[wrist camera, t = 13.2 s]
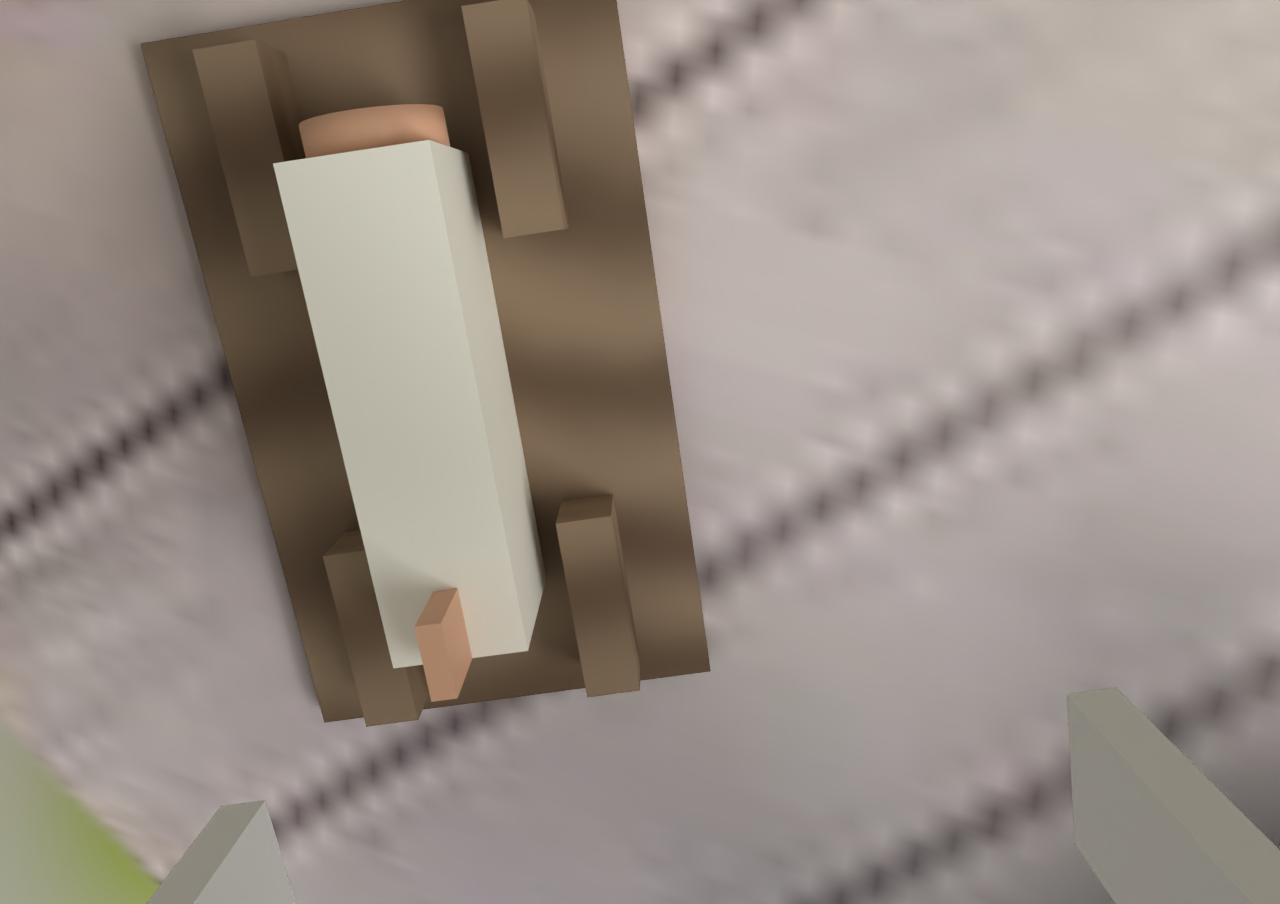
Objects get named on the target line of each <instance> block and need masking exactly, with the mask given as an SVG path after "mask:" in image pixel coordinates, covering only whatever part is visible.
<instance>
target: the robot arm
mask: <svg viewBox="0 0 1280 904" xmlns="http://www.w3.org/2000/svg"><path fill="white" fill-rule="evenodd" d="M1067 708H1068V726H1069V745H1070V763H1071V782H1072V800H1073V819H1074V837H1075V845H1076V846H1077V848H1078V849H1079V851H1080V852H1081V854H1082V855H1083V857H1084V858H1085V860H1086V861H1087V863H1088V864H1089V865H1090V867H1091V868H1092V870H1093V871H1094V873H1095V874H1096V876H1097V877H1098V879H1099V880H1100V882H1101V883H1102V885H1103V886H1104V888H1105V889H1106V890H1107V892H1108V893H1109V895H1110V896H1111V898H1112V899H1113V901H1114V902H1115V904H1280V850H1279V849H1278V848H1277V847H1276V846H1275V845H1274V844H1273V843H1272V842H1271V841H1270V840H1269V839H1268V838H1267V837H1266V836H1265V835H1264V834H1263V833H1262V832H1261V831H1260V830H1259V829H1258V828H1257V827H1256V826H1255V825H1254V824H1253V823H1252V822H1251V821H1250V820H1249V819H1248V818H1247V817H1246V816H1245V815H1244V814H1243V813H1242V812H1241V811H1240V810H1239V809H1238V808H1237V807H1236V806H1235V805H1234V804H1233V803H1232V802H1231V801H1230V800H1229V799H1228V798H1227V797H1226V796H1225V795H1224V794H1223V793H1222V792H1221V791H1220V790H1219V789H1218V788H1217V787H1216V786H1215V785H1214V784H1213V783H1212V782H1211V781H1210V780H1209V779H1208V778H1207V777H1206V776H1205V775H1204V774H1203V773H1202V772H1201V771H1200V770H1199V769H1198V768H1197V767H1196V766H1195V765H1194V764H1193V763H1192V762H1191V761H1190V760H1189V759H1188V758H1187V757H1186V756H1185V755H1184V754H1183V753H1182V752H1181V751H1180V750H1179V749H1178V748H1177V747H1176V746H1175V745H1174V744H1173V743H1172V742H1171V741H1170V740H1169V739H1168V738H1167V737H1166V736H1165V735H1164V734H1163V733H1162V732H1161V731H1160V730H1159V729H1158V728H1157V727H1156V726H1154V725H1153V724H1152V723H1151V722H1150V721H1149V720H1148V719H1147V718H1146V717H1145V716H1144V715H1143V714H1142V713H1141V712H1140V711H1139V710H1138V709H1137V708H1136V707H1135V706H1134V705H1133V704H1132V703H1131V702H1130V701H1129V700H1128V699H1127V698H1126V697H1125V696H1124V695H1123V694H1122V693H1121V692H1120V691H1119V690H1118V689H1117V688H1109V689H1101V690H1093V691H1086V692H1078V693H1071V694H1067ZM147 904H296V902H295V899H294V896H293V892H292V889H291V886H290V882H289V879H288V875H287V872H286V869H285V865H284V862H283V859H282V855H281V852H280V849H279V845H278V842H277V838H276V835H275V832H274V828H273V825H272V822H271V818H270V815H269V812H268V808H267V805H266V801H265V800H264V801H257V802H249V803H241V804H234V805H226V806H221V807H220V808H219V809H218V811H217V812H216V813H215V815H214V816H213V817H212V819H211V820H210V821H209V822H208V824H207V825H206V826H205V828H204V829H203V830H202V832H201V833H200V834H199V836H198V837H197V838H196V839H195V841H194V842H193V843H192V845H191V846H190V847H189V849H188V850H187V851H186V853H185V854H184V855H183V857H182V858H181V859H180V860H179V862H178V863H177V864H176V866H175V867H174V868H173V870H172V871H171V872H170V874H169V875H168V876H167V877H166V879H165V880H164V881H163V883H162V884H161V885H160V887H159V888H158V889H157V891H156V892H155V893H154V894H153V896H152V897H151V898H150V900H149V901H148V902H147Z"/></svg>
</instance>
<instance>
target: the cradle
mask: <svg viewBox="0 0 1280 904" xmlns="http://www.w3.org/2000/svg"><path fill="white" fill-rule="evenodd" d="M141 48H142V52H143V55H144V59H145V63H146V66H147V70H148V74H149V77H150V81H151V85H152V88H153V92H154V96H155V99H156V103H157V107H158V111H159V114H160V118H161V122H162V125H163V129H164V133H165V136H166V140H167V144H168V147H169V151H170V155H171V158H172V162H173V166H174V169H175V173H176V177H177V181H178V184H179V188H180V192H181V195H182V199H183V203H184V206H185V210H186V214H187V217H188V221H189V225H190V228H191V232H192V236H193V240H194V243H195V247H196V251H197V254H198V258H199V262H200V265H201V269H202V273H203V276H204V280H205V284H206V287H207V291H208V295H209V299H210V302H211V306H212V310H213V313H214V317H215V321H216V324H217V328H218V332H219V335H220V339H221V343H222V346H223V350H224V354H225V357H226V361H227V365H228V369H229V372H230V376H231V380H232V383H233V387H234V391H235V394H236V398H237V402H238V405H239V409H240V413H241V416H242V420H243V424H244V428H245V431H246V435H247V439H248V442H249V446H250V450H251V453H252V457H253V461H254V464H255V468H256V472H257V475H258V479H259V483H260V487H261V490H262V494H263V498H264V501H265V505H266V509H267V512H268V516H269V520H270V523H271V527H272V531H273V534H274V538H275V542H276V545H277V549H278V553H279V557H280V560H281V564H282V568H283V571H284V575H285V579H286V582H287V586H288V590H289V593H290V597H291V601H292V604H293V608H294V612H295V616H296V619H297V623H298V627H299V630H300V634H301V638H302V641H303V645H304V649H305V652H306V656H307V660H308V663H309V667H310V671H311V675H312V678H313V682H314V686H315V689H316V693H317V697H318V700H319V704H320V708H321V711H322V715H323V719H324V722H332V721H339V720H347V719H354V718H362V717H364V719H365V723H366V726H375V725H382V724H390V723H397V722H405V721H412V720H418V719H419V716H420V714H421V712H422V710H423V709H430V708H437V707H445V706H452V705H460V704H467V703H475V702H482V701H490V700H497V699H505V698H512V697H520V696H527V695H535V694H542V693H550V692H557V691H565V690H572V689H580V688H586V693H587V697H593V696H601V695H608V694H616V693H623V692H631V691H638V690H640V680H647V679H655V678H662V677H670V676H678V675H685V674H693V673H700V672H708V671H710V664H709V657H708V650H707V643H706V636H705V629H704V622H703V614H702V607H701V600H700V593H699V586H698V579H697V572H696V565H695V557H694V550H693V543H692V536H691V529H690V522H689V515H688V508H687V500H686V493H685V486H684V479H683V472H682V465H681V458H680V451H679V443H678V436H677V429H676V422H675V415H674V408H673V401H672V394H671V386H670V379H669V372H668V365H667V358H666V351H665V344H664V337H663V329H662V322H661V315H660V308H659V301H658V294H657V287H656V280H655V272H654V265H653V258H652V251H651V244H650V237H649V230H648V222H647V215H646V208H645V201H644V194H643V187H642V180H641V173H640V165H639V158H638V151H637V144H636V137H635V130H634V123H633V116H632V108H631V101H630V94H629V87H628V80H627V73H626V66H625V59H624V51H623V44H622V37H621V30H620V23H619V16H618V9H617V2H616V0H406V1H400V2H394V3H388V4H382V5H376V6H370V7H363V8H357V9H351V10H345V11H339V12H333V13H327V14H320V15H314V16H308V17H302V18H296V19H290V20H283V21H277V22H271V23H265V24H259V25H253V26H247V27H240V28H234V29H228V30H222V31H216V32H210V33H204V34H197V35H191V36H185V37H179V38H173V39H167V40H160V41H154V42H148V43H142V44H141ZM403 104H428V105H437V106H441V107H442V108H443V110H444V116H445V121H446V126H447V132H448V137H449V142H450V147H452V148H455V149H458V150H461V151H464V152H467V153H469V159H470V164H471V170H472V175H473V180H474V186H475V191H476V197H477V202H478V208H479V213H480V219H481V224H482V230H483V235H484V241H485V246H486V252H487V257H488V262H489V268H490V273H491V279H492V284H493V290H494V295H495V301H496V306H497V312H498V317H499V323H500V328H501V334H502V339H503V344H504V350H505V355H506V361H507V366H508V372H509V377H510V383H511V388H512V394H513V399H514V405H515V410H516V416H517V421H518V426H519V432H520V437H521V443H522V448H523V454H524V459H525V465H526V470H527V476H528V481H529V487H530V492H531V498H532V503H533V508H534V514H535V519H536V525H537V530H538V536H539V541H540V547H541V552H542V558H543V563H544V569H545V574H546V581H545V585H544V589H543V593H542V597H541V601H540V605H539V609H538V613H537V617H536V621H535V625H534V629H533V633H532V637H531V641H530V645H529V649H528V651H523V652H516V653H508V654H500V655H493V656H485V657H477V658H472V661H471V663H470V666H469V669H468V671H467V674H466V677H465V680H464V682H463V685H462V688H461V690H460V693H459V696H458V698H457V699H449V700H442V701H434V702H431V698H430V693H429V689H428V685H427V680H426V676H425V672H424V667H423V665H416V666H408V667H401V668H393V665H392V661H391V657H390V653H389V648H388V644H387V640H386V636H385V632H384V627H383V623H382V619H381V615H380V611H379V606H378V602H377V598H376V594H375V590H374V585H373V581H372V577H371V573H370V569H369V565H368V560H367V556H366V552H365V548H364V544H363V539H362V535H361V531H360V527H359V523H358V518H357V514H356V510H355V506H354V502H353V497H352V493H351V489H350V485H349V481H348V476H347V472H346V468H345V464H344V460H343V455H342V451H341V447H340V443H339V439H338V434H337V430H336V426H335V422H334V418H333V414H332V409H331V405H330V401H329V397H328V393H327V388H326V384H325V380H324V376H323V372H322V367H321V363H320V359H319V355H318V351H317V346H316V342H315V338H314V334H313V330H312V325H311V321H310V317H309V313H308V309H307V304H306V300H305V296H304V292H303V288H302V283H301V279H300V275H299V271H298V267H297V263H296V258H295V254H294V250H293V246H292V242H291V237H290V233H289V229H288V225H287V221H286V216H285V212H284V208H283V204H282V200H281V195H280V191H279V187H278V183H277V179H276V174H275V170H274V166H273V163H279V162H286V161H292V160H299V159H305V158H306V156H305V152H304V147H303V143H302V139H301V134H300V130H299V123H301V122H302V121H304V120H307V119H310V118H313V117H316V116H321V115H325V114H329V113H334V112H340V111H346V110H352V109H359V108H367V107H376V106H387V105H403Z"/></svg>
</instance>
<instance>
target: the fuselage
mask: <svg viewBox="0 0 1280 904" xmlns="http://www.w3.org/2000/svg"><path fill="white" fill-rule="evenodd" d="M299 130H300V134H301V139H302V143H303V147H304V152H305V156H306V158H305V159H299V160H292V161H286V162H279V163H273V166H274V170H275V174H276V179H277V183H278V187H279V191H280V195H281V200H282V204H283V208H284V212H285V216H286V221H287V225H288V229H289V233H290V237H291V242H292V246H293V250H294V254H295V258H296V263H297V267H298V271H299V275H300V279H301V283H302V288H303V292H304V296H305V300H306V304H307V309H308V313H309V317H310V321H311V325H312V330H313V334H314V338H315V342H316V346H317V351H318V355H319V359H320V363H321V367H322V372H323V376H324V380H325V384H326V388H327V393H328V397H329V401H330V405H331V409H332V414H333V418H334V422H335V426H336V430H337V434H338V439H339V443H340V447H341V451H342V455H343V460H344V464H345V468H346V472H347V476H348V481H349V485H350V489H351V493H352V497H353V502H354V506H355V510H356V514H357V518H358V523H359V527H360V531H361V535H362V539H363V544H364V548H365V552H366V556H367V560H368V565H369V569H370V573H371V577H372V581H373V585H374V590H375V594H376V598H377V602H378V606H379V611H380V615H381V619H382V623H383V627H384V632H385V636H386V640H387V644H388V648H389V653H390V657H391V661H392V665H393V668H401V667H408V666H416V665H423V667H424V672H425V676H426V680H427V685H428V689H429V693H430V698H431V702H434V701H442V700H449V699H457V698H458V696H459V693H460V690H461V688H462V685H463V682H464V680H465V677H466V674H467V671H468V669H469V666H470V663H471V661H472V658H477V657H485V656H493V655H500V654H508V653H516V652H523V651H528V649H529V645H530V641H531V637H532V633H533V629H534V625H535V621H536V617H537V613H538V609H539V605H540V601H541V597H542V593H543V589H544V585H545V581H546V574H545V569H544V563H543V558H542V552H541V547H540V541H539V536H538V530H537V525H536V519H535V514H534V508H533V503H532V498H531V492H530V487H529V481H528V476H527V470H526V465H525V459H524V454H523V448H522V443H521V437H520V432H519V426H518V421H517V416H516V410H515V405H514V399H513V394H512V388H511V383H510V377H509V372H508V366H507V361H506V355H505V350H504V344H503V339H502V334H501V328H500V323H499V317H498V312H497V306H496V301H495V295H494V290H493V284H492V279H491V273H490V268H489V262H488V257H487V252H486V246H485V241H484V235H483V230H482V224H481V219H480V213H479V208H478V202H477V197H476V191H475V186H474V180H473V175H472V170H471V164H470V159H469V153H467V152H464V151H461V150H458V149H455V148H452V147H450V142H449V137H448V132H447V126H446V121H445V116H444V110H443V108H442V107H441V106H437V105H428V104H403V105H387V106H376V107H367V108H359V109H352V110H346V111H340V112H334V113H329V114H325V115H321V116H316V117H313V118H310V119H307V120H304V121H302V122H301V123H299Z"/></svg>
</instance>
